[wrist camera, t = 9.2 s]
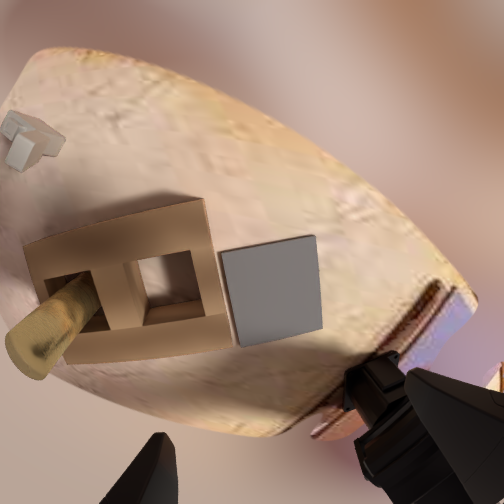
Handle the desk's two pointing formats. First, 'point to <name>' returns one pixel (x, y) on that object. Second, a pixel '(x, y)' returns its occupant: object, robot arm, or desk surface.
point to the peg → (52, 327)
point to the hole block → (136, 285)
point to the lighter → (29, 140)
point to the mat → (274, 290)
